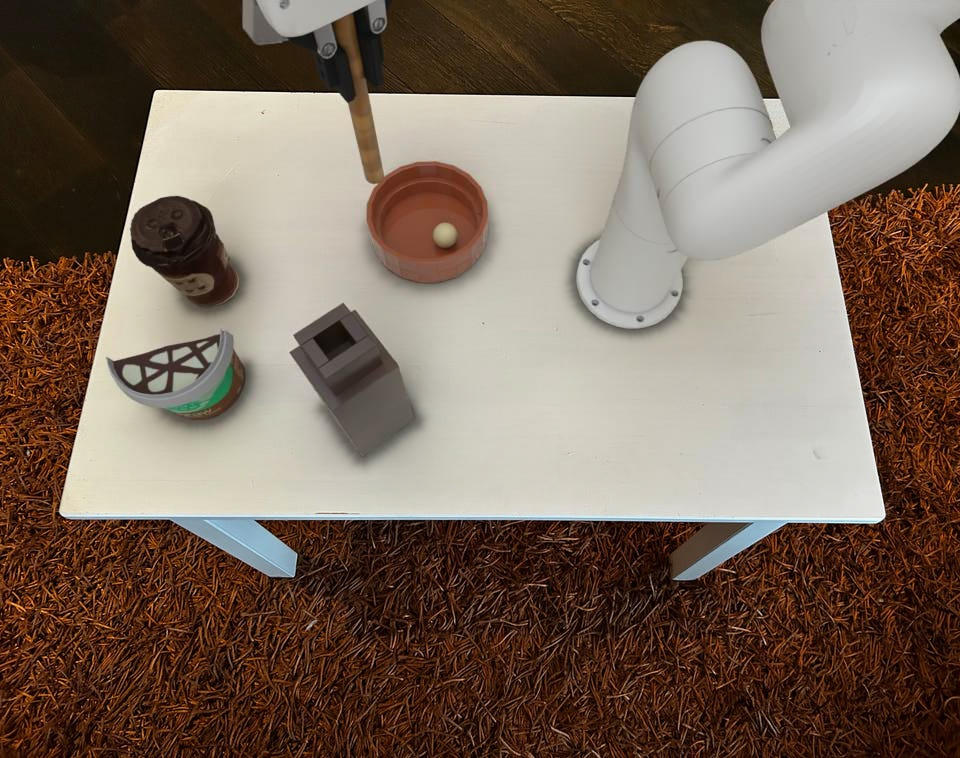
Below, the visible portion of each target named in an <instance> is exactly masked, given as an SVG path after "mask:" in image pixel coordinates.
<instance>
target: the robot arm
mask: <svg viewBox="0 0 960 758" xmlns="http://www.w3.org/2000/svg"><path fill="white" fill-rule="evenodd" d="M393 1H394V0H242V21H241V22H242V29H243V30H244V32H245V33H246V35H247V36H248V37H249V39H251V41H252V43H254V44H255V45H257V46H264V45H273V44H282V43H284V42H286V41H289V42H290V43H292V44H294V45H297V46H299V47H303V48H305V49H308V50H310V51H312V55H313V59H314V63H315V66H316V69H317V70H316V71H317V73H318V76H319V78H320V80H321V81H322V84H324V86H325V87H326V88H327V89H328V90H329V91H331V90H333V89H335V90H336V91H337V92H338V94H339V95H340V96H341V97H342V98H343V100H344V101H345V102H346V103H347V104H348V103H349V102H351V101H353V100H355V97H356V92H355V88H354V83H353V78H352V74H351V69H350V65H349V60H348V56H347V53H346V51H345V50H344V49H343V48H342V47H341V45H340V44H339V43H338V42H337V39H336V37H335V36H334V32H333V28H332V25H331V23H332V22H334V21H336V20H338V19H340V18H342V17H344V16H346V15H348V14H350V13H352V12H353V15H354V20H355V25H356V31H357V36H358V41H359V47H360V52H361V57H362V62H363V67H364V73H365V78H366V81H367V82H368V83H370V85H371V86H372V87H373V88H375V87H376V88H380V87H382V86H383V85H385V79H384V74H383V67H382V66H383V65H382V64H384V63H385V61H386V60H385V53H384V46H383V40H382V32H383V31H384V30H385V29H386V27H387V24H388V20H387V19H388V18H387V17H388V16H387V12H388V10H389V8H390V6H391V5H392V3H393ZM959 19H960V0H773V1H772V2H771V3H770V4H769V6H768V8H767V10H766V12H765V14H764V16H763V18H762V23H761V28H760V34H761V35H760V36H761V37H760V38H761V46H762V50H763V54H764V57H765V61H766V64H767V68H768V71H769V74H770V76H771V79H772V82H773V85H774V87H775V90H776V92H777V95H778V98H779V101H780V104H781V106H782V108H783V111H784V114H785V116H786V119H787V122H788V124H789V128H788V129H786V131H784V132H783V133H782V134H781V135H779V136H778V137H777V136H776V134H775V131H774V126H773V125H774V124H773V123H772V120H771V117H770V114H769V112H768V109H767V106H766V103H765V101H764V98H763V96H762V93H761V89H760V87H759V85H758V83H757V81H756V78H755V76H754V74H753V72H752V71H751V68H750V66H749V64H747V62H746V61H745V59H743V57H742V56H741V55H740V54H739V53H738V52H737V51H735V50H734V49H733V48H731V47H729V46H728V45H726V44H724V43H721V42H718V41H712V40H695V41H691V42H687V43H683V44H681V45H679V46H677V47H675V48H674V49H671V50H670V51H669V52H667V53H666V54H664V55H663V56H662V57H661V58H659V59H658V60H657V61H656V63H654V64H653V66H652V67H651V68H650V69H649V70H648V71H647V73H646V75H645V76H644V77H643V80H642V81H641V83H640V85H639V87H638V90H637V92H636V94H635V98H634V101H633V105H632V108H631V113H630V118H629V126H628V134H627V141H626V142H627V143H626V151H625V156H624V161H623V165H622V169H621V173H620V176H619V180H618V183H617V186H616V189H615V192H614V195H613V198H612V201H611V204H610V207H609V210H608V214H607V216H606V220H605V222H604V226H603V228H602V229H603V230H602V232H601V236H600V239H597V240H596V241H594V242H593V243H592V244H590V246H588V248H587V249H586V250H585V251H584V253H583V254H582V256H581V258H580V260H579V262H578V266H577V269H576V275H575V282H576V288H577V293H578V295H579V297H580V299H581V301H582V302H583V304H584V306H585V307H586V309H588V310H589V312H590V313H592V314H593V315H594V316H595V317H596V318H598V319H599V320H601V321H603V322H604V323H606V324H609V325H611V326H614V327H617V328H622V329H630V330H631V329H637V330H639V329H643V328H649V327H652V326H654V325H657V324H658V323H660V322H661V321H664V320H665V319H666V318H667V317H668V316H669V315H670V314H672V313H673V311H674V309H675V308H676V307H677V305H678V303H679V301H680V300H681V297H682V293H683V285H684V279H683V274H682V269H683V267H684V266H685V264H686V262H687V260H688V259H692V260H695V261H700V262H714V261H715V262H716V261H721V260H725V259H726V260H727V259H730V258H733V257H736V256H738V255H741V254H744V253H747V252H749V251H751V250H752V251H753V250H754V249H756V248H758V247H761V246H762V245H766V244H767V243H769V242H771V241H773V240H775V239H777V238H779V237H781V236H783V235H785V234H787V233H789V232H791V231H792V230H794V229H796V228H798V227H801V226H803V225H804V224H806V223H808V222H811V221H812V220H814V219H815V218H818V217H819V216H822V215H824V214H826V213H827V212H830V211H831V210H833V209H835V208H837V207H839V206H841V205H843V204H845V203H847V202H849V201H851V200H852V199H855V198H857V197H859V196H861V195H863V194H865V193H867V192H869V191H871V190H872V189H874V188H876V187H879V186H880V185H882V184H883V183H886V182H887V181H889V180H891V179H893V178H895V177H897V176H898V175H900V174H902V173H904V172H905V171H907V170H908V169H910V168H911V167H912V166H915V165H916V164H917V163H919V162H920V161H921V160H922V159H923V158H925V157H926V156H927V155H928V154H930V152H931V151H932V150H934V149H935V148H936V147H937V146H938V145H939V144H940V143H941V142H942V141H943V140H944V138H945V137H946V136H947V135H948V134H949V132H950V131H951V130H952V128H953V127H954V125H955V123H956V121H957V119H958V117H959V115H960V74H959V72H958V69H957V67H956V65H955V62H954V59H953V58H952V56H951V54H950V53H949V51H948V49H947V46H946V45H945V43H944V40H943V39H942V37H941V34H942V33H943V32H944V30H946V29H947V28H949V26H950V25H952V24H953V23H955V22H956V21H957V20H959Z"/></svg>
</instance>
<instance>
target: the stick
mask: <svg viewBox="0 0 960 758" xmlns="http://www.w3.org/2000/svg"><path fill="white" fill-rule="evenodd" d="M331 25H332V28H333V32H334V36H335V37H336V39H337V42H338V43H339V44H340V45H341V47H342V48H343V49H344V50H345V51H346V53H347V56H348V60H349V65H350V69H351V74H352V78H353V83H354V88H355V92H356V97H355V100H353V101H351V102H349V103H347V106H348V110H349V115H350V118H351V123H352V128H353V132H354V137H355V140H356V144H357V149H358V154H359V157H360V161H361V165H362V166H361V167H362V170H363V175H364V179H365V180H366V182H367V183H368V184H372V185H377V184H378V183H380V182H381V181H382V180H383V178H384V176H385V172H384V167H383V163H382V158H381V157H382V156H381V151H380V147H379V142H378V137H377V131H376V126H375V119H374V114H373V110H372V105H371V100H370V94H369V90H368V84H367V79H366V78H365V73H364V67H363V62H362V57H361V52H360V47H359V41H358V36H357V31H356V25H355V20H354V15H353V12H352V13H350V14H348V15H346V16H344V17H342V18H340V19H338V20H336V21H334V22H332V23H331Z"/></svg>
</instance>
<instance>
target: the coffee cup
mask: <svg viewBox="0 0 960 758" xmlns="http://www.w3.org/2000/svg"><path fill="white" fill-rule="evenodd" d="M129 231H130V242H131V243H130V244H131V249H132V251H133V253H134V255H135V257H136V258H137V259H138V261H139V262H140V263H141V264H143V265H145V266H146V267H149V268H152V270H153V271H154V272H156V273H157V274H159V275H160V277H162V279H164V280H165V281H166V282H168V283H169V284H171V286H173V288H175V289H176V290H177V291H179V292H180V293H181V294H182V295H185V297H186V298H187V299H188V301H190V302H191V303H193V304H194V305H197V306H199V307H206V308H210V307H216V306H218V305H219V306H220V305H223V304H225V303H226V302H228V301H229V300H231V299H232V298H233V297H235V295H236V292H237V290H238V289H239V286H240V285H239V283H240V279H239V274H238V272H237V271H236V269H234V268H233V266H231V265H230V263H229V262H230V260H231V258H230V256H229V255H228V252H227V250H226V247H225V244H224V242H223V241H222V240H221V239H220V237H219V235H218V234H217V229H216V226H215V221H214V217H213V214H212V212H211V210H210V209H209V208H208V207H207V206H205V205H203V204H201V203H199V202H198V201H196V200H193V199H190V198H188V197H185V196H181V195H168V196H163V197H159V198H157V199H156V200H154V201H152V202H150V203H147V204H146V205H143V206H141V207H140V208H139V209H138V210H137V211H136V212H135V213H134V214H133V217H132V219H131V222H130V228H129Z"/></svg>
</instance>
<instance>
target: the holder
mask: <svg viewBox="0 0 960 758" xmlns="http://www.w3.org/2000/svg"><path fill="white" fill-rule="evenodd" d="M292 336H293V338H294V340H295V341H296V343H297V344H298V346H297V347H295V348H293V349H291V351H290V352H289V355H290V356H291V357H292V359H293V360H294V362H295V364H297V366H298V368H299V369H300V371H301V372H302V373H303V375H304V376H305V378H306V380H307V381H308V383H309V384H310V386H311V387H312V388H313V390H314V391H315V393H316V395H317V396H318V398H319V399H320V400H321V402H322V403H323V405H324V406H325V408H326V409H327V411H328V412H329V413H330V415H331V416H332V417H333V419H334V420H335V422H336V423H337V424H338V426H339V427H340V429H341V430H342V431H343V433H344V434H345V435H346V437H347V438H348V440H349V442H351V444H352V445H353V447H354V449H356V451H357V452H358V454H359V455H360V457H362V458H364V457H366V455H368V454H369V453H371V452H372V451H373V450H375V449H376V448H378V447H379V446H381V445H382V444H383V443H385V442H387V441H388V440H389V439H390V438H392V437H393V436H394V435H396V434H398V432H400V431H402V430H403V429H405V428H406V427H407V426H409V425H410V424H411V423H413V422H414V421H415V416H414V413H413V410H412V406H411V402H410V400H409V399H410V398H409V395H408V393H407V389H406V385H405V382H404V378H403V376H402V372H401V368H400V365H399V364H398V362H397V361H396V360H395V358H393V356H392V355H391V354H390V352H389V351H388V350H387V349H386V347H385V346H384V344H383V343H382V342H381V341H380V339H379V338H378V336H376V334H375V333H374V332H373V330H372V329H371V328H370V327H369V326H368V324H367V323H366V322H365V320H364V319H363V317H362V316H361V315H360V314H359V313H358V311H357V310H356V309H353V310H352V311H351V310H350V309H349V308H348V307H347V305H346V304H345V303H344V302H342V303H340V304H339V305H337V306H336V307H334V308H333V309H330V311H327V312H326V313H325V314H323V315H322V316H320V317H319V318H317V319H316V320H314V321H312V322H310V323H309V324H308V325H306V326H305V327H303V328H302V329H300V330H298V331H297V332H295V333H294V334H293V335H292Z"/></svg>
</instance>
